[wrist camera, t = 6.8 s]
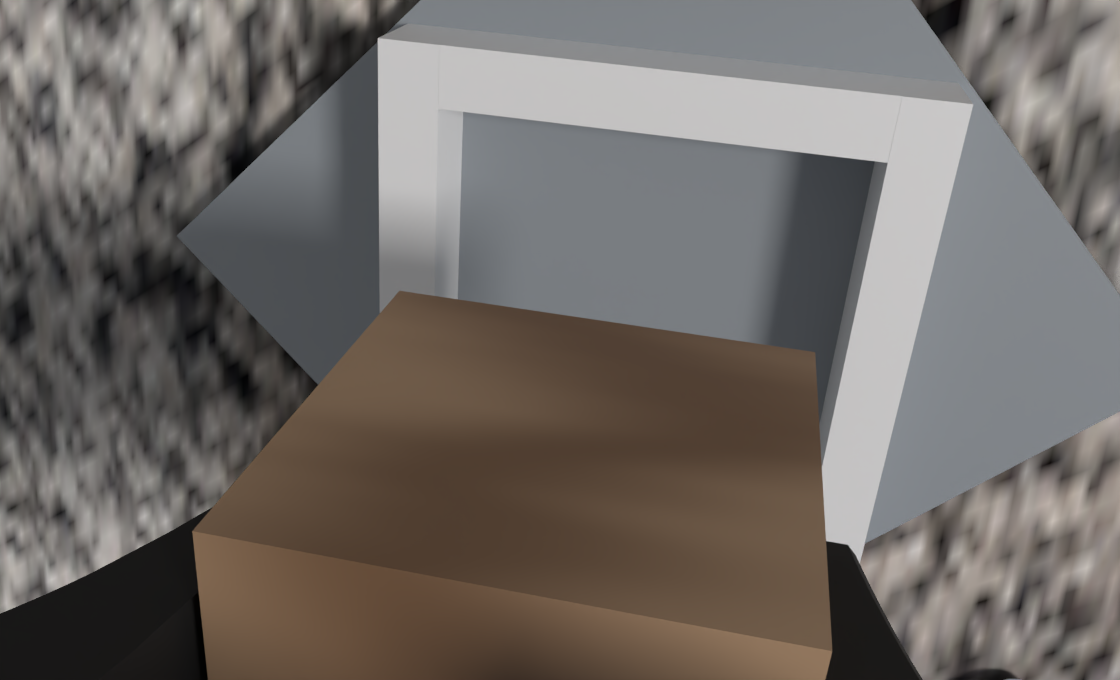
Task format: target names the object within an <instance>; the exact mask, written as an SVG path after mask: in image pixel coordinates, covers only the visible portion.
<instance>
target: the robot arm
mask: <svg viewBox="0 0 1120 680" xmlns="http://www.w3.org/2000/svg"><path fill="white" fill-rule="evenodd" d="M212 508H213V507H212ZM212 508H210V509H209V510H207V511H205V512H203V513H202V514H200V515H198V516H197V517H195V518H193V519H191V520H190V521H188V522H186V523H185V524H183V525H181V526H179V527H178V528H176V529H174V530H172V531H171V532H169V533H167V534H165V535H163V536H161V537H159V538H157V539H156V540H154V541H152V542H150V543H148V544H146V545H144V546H142V547H140V548H138V549H137V550H135V551H133V552H131V553H129V554H127V555H125V556H123V557H121V558H119V559H117V560H116V561H114V562H112V563H110V564H108V565H106V566H104V567H102V568H100V569H98V570H97V571H95V572H93V573H91V574H89V575H87V576H84V577H82V578H80V579H78V580H76V581H74V582H72V583H70V584H68V585H65V586H63V587H61V588H59V589H57V590H55V591H52V592H50V593H48V594H46V595H43V596H41V597H39V598H36V599H34V600H32V601H29V602H27V603H25V604H22V605H20V606H18V607H15V608H13V609H11V610H8V611H6V612H3V613H1V614H0V680H208V676H207V666H206V657H205V647H204V638H203V628H202V619H201V609H200V600H199V590H198V581H197V571H196V562H195V552H194V543H193V533H192V531H193V530H194V529H195V527H196V526H197V525H198V524H199V523H200V522H201V520H202V519H203V518H204V517H205V516H206V515H207V513H208V512H209V511H210V510H211V509H212ZM826 550H827V567H828V584H829V602H830V619H831V636H832V655H831V659H830V663H829V667H828V671H827V675H826V679H825V680H922V678H921V676H920V675H919V673H918V672H917V670H916V668H915V667H914V665H913V663H912V662H911V660H910V658H909V657H908V655H907V653H906V652H905V650H904V648H903V646H902V645H901V643H900V641H899V639H898V638H897V636H896V634H895V632H894V630H893V629H892V627H891V625H890V623H889V621H888V619H887V617H886V616H885V614H884V612H883V610H882V608H881V606H880V604H879V602H878V600H877V598H876V596H875V594H874V593H873V591H872V589H871V587H870V584H869V582H868V580H867V578H866V576H865V574H864V572H863V570H862V568H861V566H860V564H859V561H858V559H857V557H856V555H855V554H854V552H853V551H852V550H851V548H850V547H849V546H848V545H846V544H840V543H835V542H829V541H826ZM1005 680H1020V679H1005Z"/></svg>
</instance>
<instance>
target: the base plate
mask: <svg viewBox="0 0 1120 680" xmlns="http://www.w3.org/2000/svg"><path fill="white" fill-rule="evenodd" d="M177 237H178V238H179V239H180V240H181V241H182V242H183V243H184V244H185V245H186V247H187V248H188V249H189V250H190V251H191V252H192V253H193V254H194V255H195V256H196V257H197V258H198V259H199V260H200V261H201V262H202V263H203V264H204V265H205V266H206V268H207V269H208V270H209V271H210V272H211V273H212V274H213V275H214V276H215V277H216V278H217V279H218V280H219V281H220V282H221V283H222V284H223V285H224V286H225V288H226V289H227V290H228V291H229V292H230V293H231V294H232V295H233V296H234V297H235V298H236V299H237V300H238V301H239V302H240V303H241V304H242V305H243V306H244V307H245V309H246V310H247V311H248V312H249V313H250V314H251V315H252V316H253V317H254V318H255V319H256V320H257V321H258V322H259V323H260V324H261V325H262V326H263V327H264V329H265V330H266V331H267V332H268V333H269V334H270V335H271V336H272V337H273V338H274V339H275V340H276V341H277V342H278V343H279V344H280V345H281V346H282V347H283V348H284V350H285V351H286V352H287V353H288V354H289V355H290V356H291V357H292V358H293V359H294V360H295V361H296V362H297V363H298V364H299V365H300V366H301V367H302V368H303V370H304V371H305V372H306V373H307V374H308V375H309V376H310V377H311V378H312V379H313V380H314V381H315V382H316V383H317V384H318V385H319V384H320V382H321V381H322V380H323V379H324V378H325V377H326V375H327V374H328V373H329V372H330V371H331V370H332V368H333V367H334V366H335V365H336V364H337V363H338V361H339V360H340V359H341V358H342V357H343V356H344V355H345V353H346V352H347V351H348V350H349V349H350V348H351V346H352V345H353V344H354V343H355V342H356V341H357V339H358V338H359V337H360V336H361V335H362V334H363V332H364V331H365V330H366V329H367V328H368V327H369V326H370V324H371V323H372V322H373V321H374V320H375V319H376V317H377V316H378V315H379V314H380V313H381V312H382V310H383V309H384V308H385V307H386V306H387V305H388V303H389V302H390V301H391V300H392V299H393V298H394V297H395V295H396V294H397V293H398V292H399V291H405V292H412V293H418V294H425V295H432V296H439V297H445V298H452V299H459V300H466V301H473V302H479V303H486V304H493V305H500V306H506V307H513V308H520V309H527V310H533V311H540V312H547V313H554V314H560V315H567V316H574V317H581V318H588V319H594V320H601V321H608V322H615V323H621V324H628V325H635V326H642V327H648V328H655V329H662V330H669V331H675V332H682V333H689V334H696V335H703V336H709V337H716V338H723V339H730V340H736V341H743V342H750V343H757V344H763V345H770V346H777V347H784V348H790V349H797V350H804V351H811V352H815V358H816V376H817V393H818V411H819V428H820V445H821V463H822V480H823V497H824V515H825V532H826V541H829V542H835V543H840V544H846V545H848V546H849V547H850V548H851V550H852V551H853V552H854V554H855V555H856V557H857V559H858V561H859V564H860V560H861V556H862V552H863V548H864V544H865V543H867V542H869V541H871V540H873V539H874V538H876V537H878V536H880V535H882V534H884V533H886V532H888V531H890V530H892V529H894V528H896V527H898V526H900V525H901V524H903V523H905V522H907V521H909V520H911V519H913V518H915V517H917V516H919V515H921V514H923V513H925V512H927V511H928V510H930V509H932V508H934V507H936V506H938V505H940V504H942V503H944V502H946V501H948V500H950V499H952V498H954V497H955V496H957V495H959V494H961V493H963V492H965V491H967V490H969V489H971V488H973V487H975V486H977V485H979V484H981V483H983V482H984V481H986V480H988V479H990V478H992V477H994V476H996V475H998V474H1000V473H1002V472H1004V471H1006V470H1008V469H1010V468H1011V467H1013V466H1015V465H1017V464H1019V463H1021V462H1023V461H1025V460H1027V459H1029V458H1031V457H1033V456H1035V455H1037V454H1038V453H1040V452H1042V451H1044V450H1046V449H1048V448H1050V447H1052V446H1054V445H1056V444H1058V443H1060V442H1062V441H1064V440H1065V439H1067V438H1069V437H1071V436H1073V435H1075V434H1077V433H1079V432H1081V431H1083V430H1085V429H1087V428H1089V427H1091V426H1093V425H1094V424H1096V423H1098V422H1100V421H1102V420H1104V419H1106V418H1108V417H1110V416H1112V415H1114V414H1116V413H1118V412H1120V295H1119V293H1118V292H1117V290H1116V289H1115V288H1114V286H1113V285H1112V283H1111V282H1110V281H1109V279H1108V278H1107V276H1106V275H1105V274H1104V272H1103V271H1102V269H1101V268H1100V266H1099V265H1098V264H1097V262H1096V261H1095V259H1094V258H1093V257H1092V255H1091V254H1090V252H1089V251H1088V250H1087V248H1086V247H1085V245H1084V244H1083V242H1082V241H1081V240H1080V238H1079V237H1078V235H1077V234H1076V233H1075V231H1074V230H1073V228H1072V227H1071V226H1070V224H1069V223H1068V221H1067V220H1066V218H1065V217H1064V216H1063V214H1062V213H1061V211H1060V210H1059V209H1058V207H1057V206H1056V204H1055V203H1054V202H1053V200H1052V199H1051V197H1050V196H1049V194H1048V193H1047V192H1046V190H1045V189H1044V187H1043V186H1042V185H1041V183H1040V182H1039V180H1038V179H1037V178H1036V176H1035V175H1034V173H1033V172H1032V170H1031V169H1030V168H1029V166H1028V165H1027V163H1026V162H1025V161H1024V159H1023V158H1022V156H1021V155H1020V154H1019V152H1018V151H1017V149H1016V148H1015V146H1014V145H1013V144H1012V142H1011V141H1010V139H1009V138H1008V137H1007V135H1006V134H1005V132H1004V131H1003V130H1002V128H1001V127H1000V125H999V124H998V122H997V121H996V120H995V118H994V117H993V115H992V114H991V113H990V111H989V110H988V108H987V107H986V106H985V104H984V103H983V101H982V100H981V98H980V97H979V96H978V94H977V93H976V91H975V90H974V89H973V87H972V86H971V84H970V83H969V82H968V80H967V79H966V77H965V76H964V74H963V73H962V72H961V70H960V69H959V67H958V66H957V65H956V63H955V62H954V60H953V59H952V58H951V56H950V55H949V53H948V52H947V50H946V49H945V48H944V46H943V45H942V43H941V42H940V41H939V39H938V38H937V36H936V35H935V34H934V32H933V31H932V29H931V28H930V26H929V25H928V24H927V22H926V21H925V19H924V18H923V17H922V15H921V14H920V12H919V11H918V10H917V8H916V7H915V5H914V4H913V2H912V1H911V0H420V1H419V2H418V3H417V4H416V5H415V6H414V7H413V8H412V9H411V10H410V11H409V12H408V13H407V14H406V15H405V16H404V17H403V18H402V19H401V20H400V21H399V22H398V23H396V24H395V25H394V26H393V27H392V28H391V29H390V30H389V31H388V32H387V33H386V34H385V35H383V36H381V37H379V38H378V42H377V43H376V44H375V45H374V46H373V47H372V48H371V49H370V50H369V51H367V52H366V53H365V54H364V55H363V56H362V57H361V58H360V59H359V60H358V61H357V62H356V63H355V64H354V65H353V66H352V67H351V68H350V69H349V70H348V71H347V72H346V73H345V74H344V75H343V76H342V77H341V78H340V79H339V80H337V81H336V82H335V83H334V84H333V85H332V86H331V87H330V88H329V89H328V90H327V91H326V92H325V93H324V94H323V95H322V96H321V97H320V98H319V99H318V100H317V101H316V102H315V103H314V104H313V105H312V106H311V107H310V108H308V109H307V110H306V111H305V112H304V113H303V114H302V115H301V116H300V117H299V118H298V119H297V120H296V121H295V122H294V123H293V124H292V125H291V126H290V127H289V128H288V129H287V130H286V131H285V132H284V133H283V134H282V135H281V136H279V137H278V138H277V139H276V140H275V141H274V142H273V143H272V144H271V145H270V146H269V147H268V148H267V149H266V150H265V151H264V152H263V153H262V154H261V155H260V156H259V157H258V158H257V159H256V160H255V161H254V162H253V163H252V164H251V165H249V166H248V167H247V168H246V169H245V170H244V171H243V172H242V173H241V174H240V175H239V176H238V177H237V178H236V179H235V180H234V181H233V182H232V183H231V184H230V185H229V186H228V187H227V188H226V189H225V190H224V191H223V192H222V193H220V194H219V195H218V196H217V197H216V198H215V199H214V200H213V201H212V202H211V203H210V204H209V205H208V206H207V207H206V208H205V209H204V210H203V211H202V212H201V213H200V214H199V215H198V216H197V217H196V218H195V219H194V220H193V221H191V222H190V223H189V224H188V225H187V226H186V227H185V228H184V229H183V230H182V231H181V232H180V233H179V234H178V235H177Z"/></svg>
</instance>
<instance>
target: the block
mask: <svg viewBox="0 0 1120 680" xmlns="http://www.w3.org/2000/svg"><path fill="white" fill-rule="evenodd" d="M192 533H193V543H194V552H195V562H196V571H197V581H198V590H199V600H200V609H201V619H202V628H203V638H204V647H205V657H206V666H207V676H208V680H825V679H826V675H827V671H828V667H829V663H830V659H831V655H832V636H831V619H830V602H829V584H828V567H827V550H826V532H825V515H824V497H823V480H822V463H821V445H820V428H819V411H818V393H817V376H816V358H815V352H811V351H804V350H797V349H790V348H784V347H777V346H770V345H763V344H757V343H750V342H743V341H736V340H730V339H723V338H716V337H709V336H703V335H696V334H689V333H682V332H675V331H669V330H662V329H655V328H648V327H642V326H635V325H628V324H621V323H615V322H608V321H601V320H594V319H588V318H581V317H574V316H567V315H560V314H554V313H547V312H540V311H533V310H527V309H520V308H513V307H506V306H500V305H493V304H486V303H479V302H473V301H466V300H459V299H452V298H445V297H439V296H432V295H425V294H418V293H412V292H405V291H399V292H398V293H397V294H396V295H395V297H394V298H393V299H392V300H391V301H390V302H389V303H388V305H387V306H386V307H385V308H384V309H383V310H382V312H381V313H380V314H379V315H378V316H377V317H376V319H375V320H374V321H373V322H372V323H371V324H370V326H369V327H368V328H367V329H366V330H365V331H364V332H363V334H362V335H361V336H360V337H359V338H358V339H357V341H356V342H355V343H354V344H353V345H352V346H351V348H350V349H349V350H348V351H347V352H346V353H345V355H344V356H343V357H342V358H341V359H340V360H339V361H338V363H337V364H336V365H335V366H334V367H333V368H332V370H331V371H330V372H329V373H328V374H327V375H326V377H325V378H324V379H323V380H322V381H321V382H320V384H319V385H318V386H317V387H316V388H315V389H314V390H313V392H312V393H311V394H310V395H309V396H308V397H307V399H306V400H305V401H304V402H303V403H302V404H301V406H300V407H299V408H298V409H297V410H296V411H295V413H294V414H293V415H292V416H291V417H290V418H289V420H288V421H287V422H286V423H285V424H284V425H283V426H282V428H281V429H280V430H279V431H278V432H277V433H276V435H275V436H274V437H273V438H272V439H271V440H270V442H269V443H268V444H267V445H266V446H265V447H264V449H263V450H262V451H261V452H260V453H259V454H258V455H257V457H256V458H255V459H254V460H253V461H252V462H251V464H250V465H249V466H248V467H247V468H246V469H245V471H244V472H243V473H242V474H241V475H240V476H239V478H238V479H237V480H236V481H235V482H234V483H233V484H232V486H231V487H230V488H229V489H228V490H227V491H226V493H225V494H224V495H223V496H222V497H221V498H220V500H219V501H218V502H217V503H216V504H215V505H214V507H213V508H212V509H211V510H210V511H209V512H208V513H207V515H206V516H205V517H204V518H203V519H202V520H201V522H200V523H199V524H198V525H197V526H196V527H195V529H194V530H193V531H192Z"/></svg>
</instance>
